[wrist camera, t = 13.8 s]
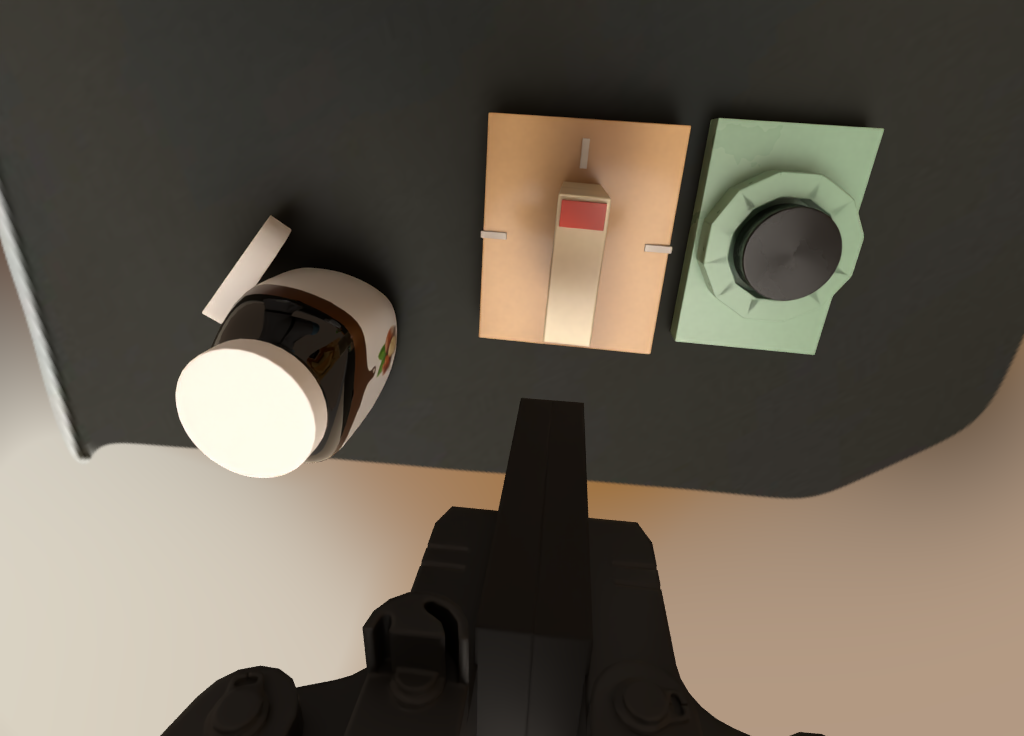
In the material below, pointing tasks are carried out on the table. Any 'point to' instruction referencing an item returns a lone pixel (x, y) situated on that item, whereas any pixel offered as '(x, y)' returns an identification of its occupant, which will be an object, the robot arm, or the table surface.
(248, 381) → the spread jar
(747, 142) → the button box
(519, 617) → the robot arm
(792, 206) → the button
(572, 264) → the dial
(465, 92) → the table surface
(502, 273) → the dial panel
